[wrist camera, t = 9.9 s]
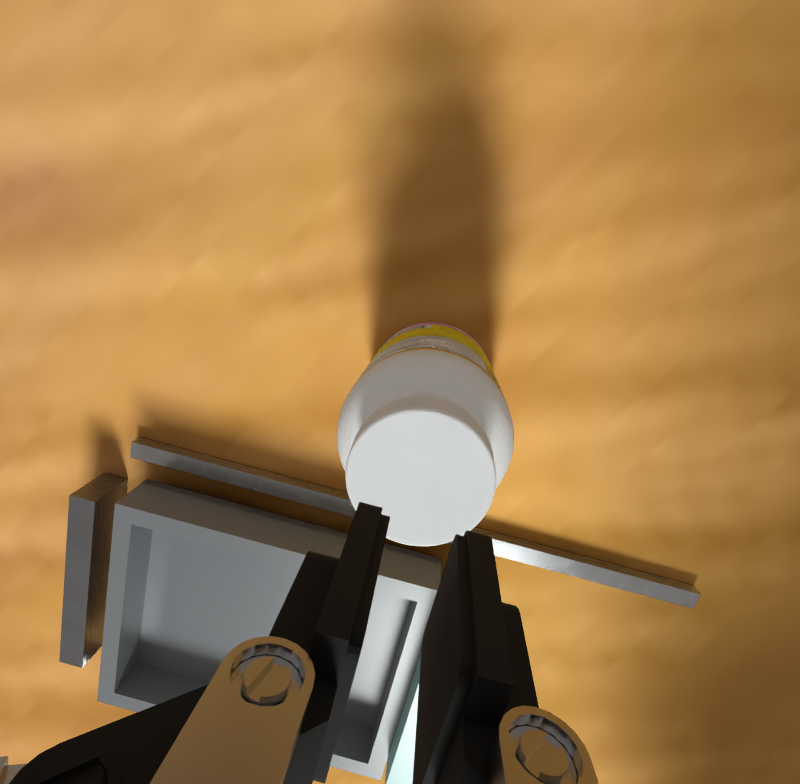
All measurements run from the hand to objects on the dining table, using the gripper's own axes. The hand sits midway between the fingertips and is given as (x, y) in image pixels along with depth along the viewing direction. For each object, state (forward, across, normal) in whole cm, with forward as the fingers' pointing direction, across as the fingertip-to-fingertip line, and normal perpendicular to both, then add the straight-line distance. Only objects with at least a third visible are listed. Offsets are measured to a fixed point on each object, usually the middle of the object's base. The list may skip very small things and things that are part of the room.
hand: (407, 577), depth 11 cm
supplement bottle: (+18, 0, 0) cm, 18 cm away
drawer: (+17, +6, +17) cm, 25 cm away
